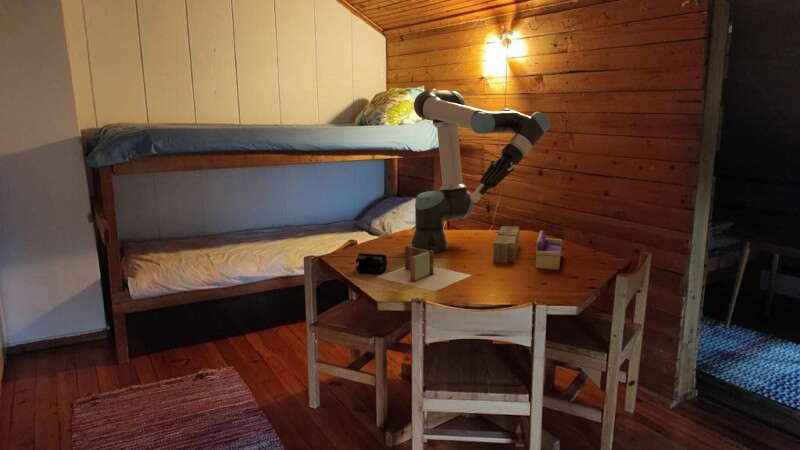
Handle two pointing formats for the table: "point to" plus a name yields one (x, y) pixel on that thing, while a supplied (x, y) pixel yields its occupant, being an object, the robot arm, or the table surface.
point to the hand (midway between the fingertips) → (472, 199)
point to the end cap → (371, 263)
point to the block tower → (506, 244)
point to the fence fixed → (413, 252)
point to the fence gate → (419, 266)
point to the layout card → (426, 278)
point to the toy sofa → (548, 252)
